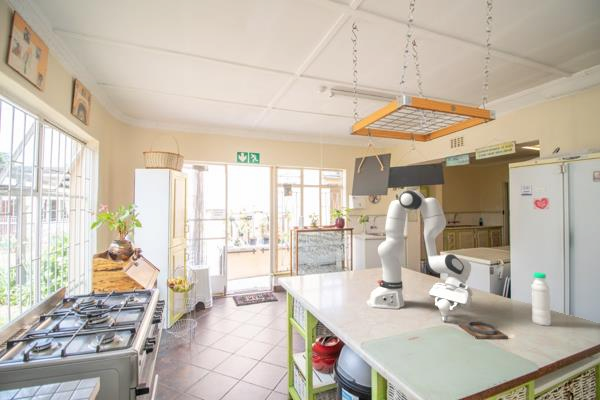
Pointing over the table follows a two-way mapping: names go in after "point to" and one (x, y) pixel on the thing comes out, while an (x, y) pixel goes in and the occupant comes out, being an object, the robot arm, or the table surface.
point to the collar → (482, 330)
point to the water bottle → (540, 300)
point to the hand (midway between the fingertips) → (443, 308)
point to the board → (482, 336)
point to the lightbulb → (444, 308)
